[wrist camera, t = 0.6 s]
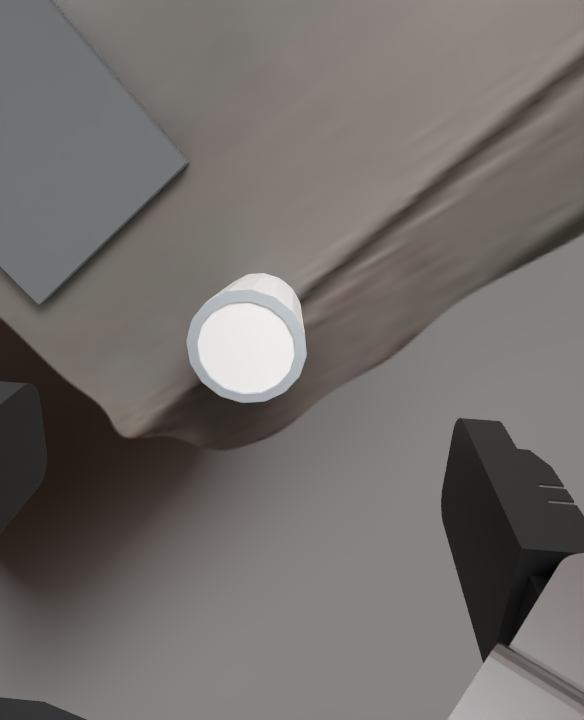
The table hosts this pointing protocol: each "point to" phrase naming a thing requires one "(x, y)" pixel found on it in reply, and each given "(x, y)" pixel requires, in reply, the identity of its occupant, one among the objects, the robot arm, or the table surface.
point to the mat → (67, 149)
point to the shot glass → (249, 339)
